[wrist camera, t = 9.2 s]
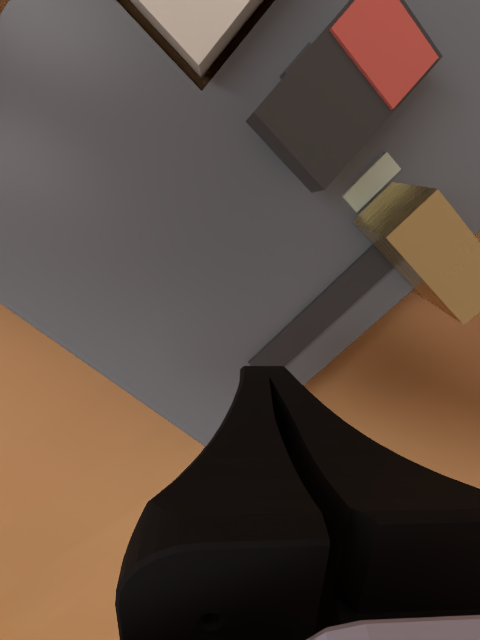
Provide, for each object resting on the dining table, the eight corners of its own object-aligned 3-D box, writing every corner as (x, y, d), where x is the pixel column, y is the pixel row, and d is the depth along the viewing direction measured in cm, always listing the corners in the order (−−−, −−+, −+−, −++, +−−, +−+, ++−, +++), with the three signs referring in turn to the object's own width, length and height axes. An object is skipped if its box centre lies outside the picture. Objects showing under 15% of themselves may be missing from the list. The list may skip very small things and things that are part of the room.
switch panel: (-93, 210, 15) (-150, 220, 12) (351, -483, 9) (395, -690, 7) (220, 436, 20) (221, 473, 17) (632, 66, 14) (712, 50, 12)
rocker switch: (245, 121, 11) (254, 110, 10) (360, -13, 11) (382, -39, 10) (311, 192, 12) (326, 190, 11) (419, 69, 12) (445, 54, 11)
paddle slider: (352, 221, 14) (386, 237, 11) (392, 181, 13) (437, 188, 11) (418, 293, 15) (464, 325, 12) (457, 260, 15) (513, 284, 12)
